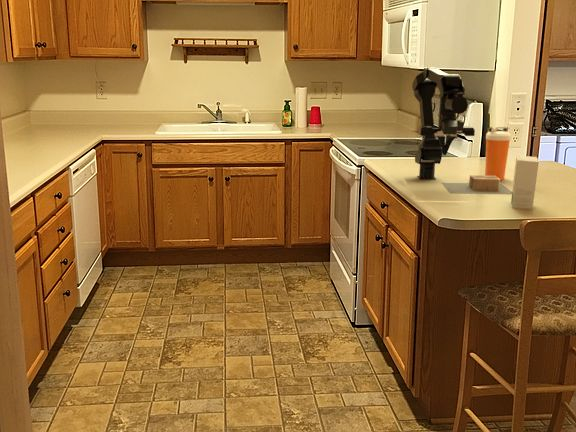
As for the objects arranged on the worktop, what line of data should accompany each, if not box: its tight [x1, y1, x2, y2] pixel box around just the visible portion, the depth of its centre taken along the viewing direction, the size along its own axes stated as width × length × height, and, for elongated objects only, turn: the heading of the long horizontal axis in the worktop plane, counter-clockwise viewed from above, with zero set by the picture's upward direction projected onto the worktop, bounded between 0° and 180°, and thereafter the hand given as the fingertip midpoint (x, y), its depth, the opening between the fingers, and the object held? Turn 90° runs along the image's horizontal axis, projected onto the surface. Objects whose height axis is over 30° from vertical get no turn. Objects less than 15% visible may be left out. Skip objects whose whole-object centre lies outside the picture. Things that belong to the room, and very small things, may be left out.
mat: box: [441, 182, 512, 195], centre depth 230 cm, size 18×22×1 cm
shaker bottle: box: [484, 126, 512, 181], centre depth 245 cm, size 9×9×20 cm
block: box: [468, 174, 501, 191], centre depth 229 cm, size 7×4×9 cm
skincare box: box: [510, 155, 539, 211], centre depth 204 cm, size 8×7×16 cm
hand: (444, 155), depth 229 cm, fingers closed
